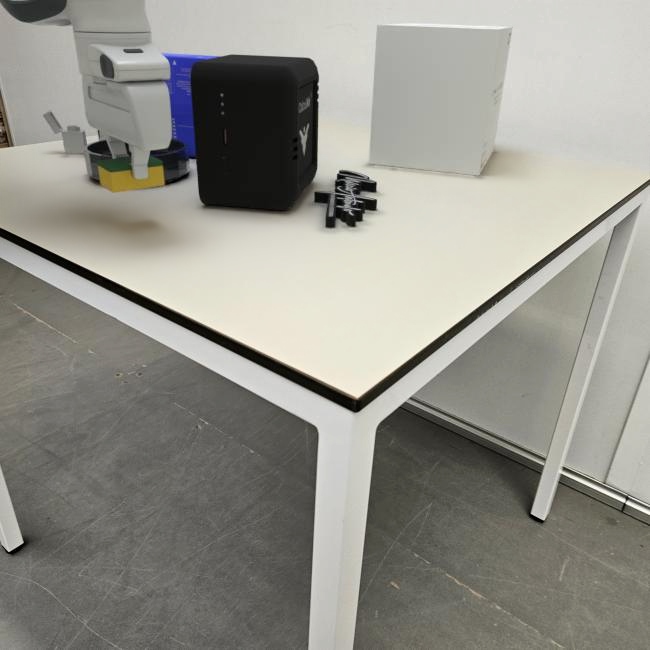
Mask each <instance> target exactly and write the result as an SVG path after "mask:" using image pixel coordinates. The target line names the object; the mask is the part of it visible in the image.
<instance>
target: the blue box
mask: <svg viewBox="0 0 650 650" xmlns="http://www.w3.org/2000/svg"><path fill="white" fill-rule="evenodd" d="M160 53H161V54H162V55H163V56H164V57H165V58H166V59H167V60H168V61H169V64H170V78H169V79H166V80H163V81H164V82H165V83H166V85H167V87H168V90H169V96H170V107H171V123H172V138H171V139H177V140H180V141H183V142H186V144H187V145H188V152H189V158H195V159H196V151H195V137H194V124H193V110H192V96H191V83H190V75H191V69H192V66H193V64H194V63H195V62H196V61H201V60H206V59H211V58H216V57H221V56H222V55H219V56H218V55H204V54H189V53H168V52H160Z"/></svg>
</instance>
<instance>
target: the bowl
mask: <svg viewBox="0 0 650 650" xmlns="http://www.w3.org/2000/svg"><path fill="white" fill-rule="evenodd" d="M124 143H125V147H126V151H127V154H128V155H129V157H132V152H130V150H129V144H128V143H126V142H124ZM83 155H84V161H85V168H86V172H87V176H88V177H90V178H92V179H93V180H97V181H98V182H100V177H99V170H98V164H97V161H99V160H107V159H113V156H112V154H111V151H110V148H109V146H108V143H107V141H106V140H100V141H99V140H97V141H93V142H90V143H87V145H86V146H84V154H83ZM150 156H152V157H155V158H157V159H159V160H161V161H162V162H163V173H164V182H165V184H166V183H170V182H173V181H176V180H179V179H180V178H181V177H183V176H184V175H187V174H188V173H189V172H190V170H191V167H190V157H189V152H188V145H187V144H186V142H183V141H180V140H177V139H171V141H170V145H169V147H168V148H165V149H158V150H150Z"/></svg>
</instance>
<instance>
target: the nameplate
mask: <svg viewBox="0 0 650 650" xmlns="http://www.w3.org/2000/svg"><path fill="white" fill-rule="evenodd" d="M377 186H378V182H377V181H375V180H373V179H370V177H369V176H368V175H366V174H364V173H360V172H357V171H353V170H349V169H339V171H338V173H336V179H335V180H334V191H324V190H317V191H314V192H313V193H314V194H313V196H314V197H313V201H314V203H322V204H326V211H325V227H326V228H329V229H331V228H332V229H334V228H335V227H336V219H339V220H340V222H344V223H346V225H347V226H348V227H352V228H353V227H356V226H357V225H356V224H357V222H362V221H363V220H364V214H365V212H366V210H367V211H377V207H378V199H377V198H373V197H369V196H364V195H361V193H362V192H367V193H377V188H378V187H377Z"/></svg>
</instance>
